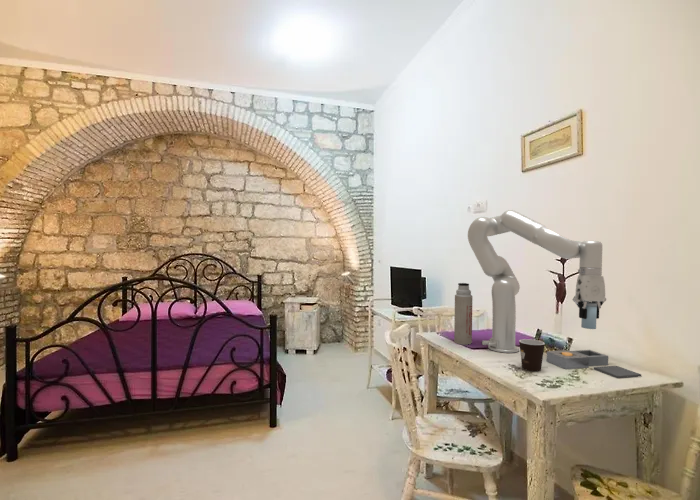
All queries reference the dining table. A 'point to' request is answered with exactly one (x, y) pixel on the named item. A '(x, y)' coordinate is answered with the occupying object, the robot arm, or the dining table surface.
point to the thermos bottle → (463, 315)
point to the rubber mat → (617, 371)
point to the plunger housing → (567, 359)
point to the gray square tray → (594, 357)
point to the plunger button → (567, 353)
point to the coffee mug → (531, 354)
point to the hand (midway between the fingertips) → (588, 317)
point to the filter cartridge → (590, 316)
